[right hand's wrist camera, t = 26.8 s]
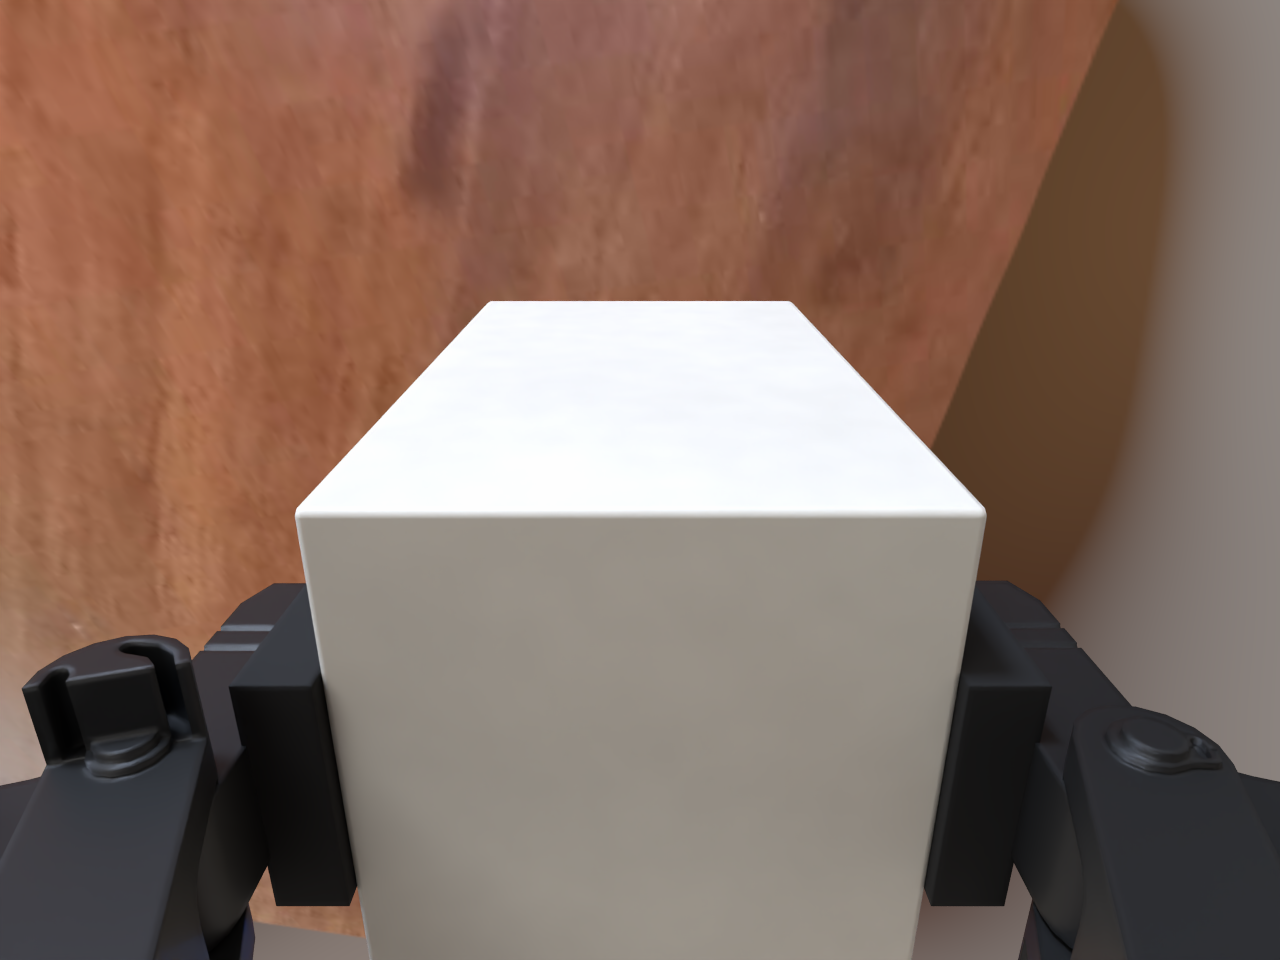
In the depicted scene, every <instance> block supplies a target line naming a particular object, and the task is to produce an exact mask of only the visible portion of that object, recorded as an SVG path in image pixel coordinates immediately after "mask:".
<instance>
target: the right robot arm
mask: <svg viewBox="0 0 1280 960" xmlns="http://www.w3.org/2000/svg"><path fill="white" fill-rule="evenodd" d="M22 691H23V694H24V697H25V700H26V703H27V706H28V710H29V713H30V716H31V719H32V722H33V725H34V728H35V731H36V734H37V737H38V740H39V743H40V746H41V749H42V752H43V755H44V758H45V761H46V764H47V766H46V768H45V770H44V772H43V774H42V776H41V777H38V778H34V779H30V780H26V781H21V782H16V783H11V784H6V785H2V786H0V960H253V951H254V943H255V934H254V927H253V920H252V916H251V911H250V907H249V903H248V902H249V900H250V899H251V897H252V895H253V893H254V891H255V889H256V887H257V885H258V883H259V881H260V879H261V877H262V875H263V873H264V871H265V869H266V867H267V865H268V870H269V874H270V879H271V884H272V888H273V893H274V897H275V902H276V906H350V903H351V901H352V898H353V895H354V893H355V890H356V887H357V881H356V875H355V869H354V863H353V857H352V851H351V846H350V840H349V834H348V828H347V822H346V816H345V810H344V804H343V798H342V792H341V786H340V780H339V774H338V768H337V763H336V757H335V751H334V745H333V739H332V733H331V727H330V721H329V715H328V709H327V703H326V697H325V691H324V686H323V680H322V674H321V668H320V662H319V656H318V650H317V644H316V638H315V632H314V626H313V620H312V614H311V608H310V603H309V597H308V591H307V585H306V583H274V584H272V585H270V586H269V587H267V588H266V589H264V590H262V591H261V592H259V593H257V594H256V595H254V596H252V597H251V598H249V599H247V600H246V601H244V602H242V603H241V604H240V605H239V606H238V608H237V609H236V610H235V611H234V612H233V613H232V614H231V616H230V617H229V618H228V619H227V620H226V621H225V623H224V624H223V625H222V626H221V631H217V632H216V633H215V634H214V635H213V637H212V638H211V639H210V640H209V641H208V642H207V643H206V645H205V646H204V651H200V652H199V653H198V654H197V655H196V656H195V657H194V659H193V660H191V656H190V652H189V648H188V647H186V646H185V645H184V644H182V643H181V642H180V641H178V640H177V639H174V638H169V637H164V636H158V635H140V636H125V637H121V638H116V639H112V640H107V641H103V642H99V643H94V644H92V645H89V646H87V647H84V648H82V649H79V650H77V651H74V652H72V653H69V654H66V655H64V656H62V657H61V658H59V659H57V660H56V661H54V662H52V663H51V664H49V665H47V666H46V667H44V668H43V669H41V670H39V671H38V672H37V673H36V674H35V675H34V676H33V677H32V678H31V679H30V680H29V681H28V682H27V683H26V685H25V686H24V687H23V688H22ZM1013 863H1014V864H1015V866H1016V868H1017V870H1018V872H1019V873H1020V875H1021V877H1022V879H1023V881H1024V883H1025V885H1026V887H1027V889H1028V891H1029V893H1030V895H1031V897H1032V903H1031V907H1030V911H1029V916H1028V920H1027V924H1026V928H1025V933H1024V937H1023V941H1022V945H1021V950H1020V954H1019V958H1018V960H1280V782H1278V781H1273V780H1268V779H1263V778H1258V777H1254V776H1250V775H1246V774H1242V773H1238V772H1237V770H1236V768H1235V766H1234V764H1233V763H1232V761H1231V760H1230V759H1229V758H1228V756H1227V755H1226V754H1225V753H1224V751H1223V750H1222V749H1221V748H1220V746H1219V745H1218V744H1216V743H1215V742H1214V741H1212V740H1211V739H1209V738H1208V737H1207V736H1205V735H1204V734H1202V733H1201V732H1200V731H1198V730H1197V729H1195V728H1194V727H1192V726H1189V725H1187V724H1185V723H1183V722H1181V721H1178V720H1176V719H1174V718H1172V717H1170V716H1168V715H1165V714H1161V713H1158V712H1154V711H1150V710H1146V709H1142V708H1139V707H1133V706H1131V705H1130V703H1129V702H1128V701H1127V700H1126V699H1125V698H1124V697H1123V695H1122V694H1121V693H1120V692H1119V691H1118V690H1117V688H1116V687H1115V686H1114V685H1113V684H1112V683H1111V682H1110V680H1109V679H1108V678H1107V677H1106V676H1105V675H1104V674H1103V672H1102V671H1101V670H1100V669H1099V668H1098V667H1097V665H1096V664H1095V663H1094V662H1093V661H1092V660H1091V659H1090V657H1089V656H1088V655H1087V654H1086V653H1085V652H1084V651H1083V649H1082V648H1077V642H1076V641H1075V640H1074V639H1073V638H1072V637H1071V636H1070V634H1069V633H1068V632H1067V631H1066V630H1065V629H1064V628H1060V623H1059V622H1058V621H1057V619H1056V618H1055V617H1054V616H1053V615H1052V614H1051V613H1050V611H1049V610H1048V609H1047V608H1046V607H1045V606H1044V605H1043V603H1042V602H1041V601H1040V600H1038V599H1037V598H1035V597H1033V596H1032V595H1030V594H1028V593H1027V592H1025V591H1023V590H1022V589H1020V588H1018V587H1017V586H1015V585H1013V584H1012V583H1010V582H1008V581H976V582H975V588H974V594H973V600H972V606H971V612H970V618H969V624H968V629H967V635H966V641H965V647H964V653H963V659H962V665H961V671H960V677H959V683H958V688H957V694H956V700H955V706H954V712H953V718H952V724H951V730H950V736H949V742H948V748H947V753H946V759H945V765H944V771H943V777H942V783H941V789H940V795H939V801H938V807H937V812H936V818H935V824H934V830H933V836H932V842H931V848H930V854H929V860H928V866H927V872H926V877H925V883H924V889H925V891H926V894H927V897H928V899H929V902H930V904H931V906H1004V904H1005V900H1006V895H1007V891H1008V886H1009V882H1010V877H1011V873H1012V868H1013Z"/></svg>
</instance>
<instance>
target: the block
mask: <svg viewBox="0 0 1280 960" xmlns="http://www.w3.org/2000/svg"><path fill="white" fill-rule="evenodd" d="M986 516H987V515H986V511H985V508H984V507H983V506H982V505H981V504H980V503H979V502H978V500H977V499H976V498H975V497H974V496H973V495H972V494H971V493H970V492H969V491H968V490H967V489H966V488H965V487H964V486H963V484H962V483H961V482H960V481H959V480H958V479H957V478H956V477H955V476H954V475H953V474H952V473H951V472H950V471H949V470H948V468H947V467H946V466H945V465H944V464H943V463H942V462H941V461H940V460H939V459H938V458H937V457H936V456H935V455H934V454H933V453H932V451H931V450H930V449H929V448H928V447H927V446H926V445H925V444H924V443H923V442H922V441H921V440H920V439H919V438H918V436H917V435H916V434H915V433H914V432H913V431H912V430H911V429H910V428H909V427H908V426H907V425H906V424H905V423H904V422H903V421H902V419H901V418H900V417H899V416H898V415H897V414H896V413H895V412H894V411H893V410H892V409H891V408H890V407H889V406H888V405H887V403H886V402H885V401H884V400H883V399H882V398H881V397H880V396H879V395H878V394H877V393H876V392H875V391H874V390H873V389H872V387H871V386H870V385H869V384H868V383H867V382H866V381H865V380H864V379H863V378H862V377H861V376H860V375H859V374H858V373H857V371H856V370H855V369H854V368H853V367H852V366H851V365H850V364H849V363H848V362H847V361H846V360H845V359H844V358H843V357H842V355H841V354H840V353H839V352H838V351H837V350H836V349H835V348H834V347H833V346H832V345H831V344H830V343H829V342H828V341H827V339H826V338H825V337H824V336H823V335H822V334H821V333H820V332H819V331H818V330H817V329H816V328H815V327H814V326H813V325H812V324H811V322H810V321H809V320H808V319H807V318H806V317H805V316H804V315H803V314H802V313H801V312H800V311H799V310H798V309H797V308H796V306H795V305H794V304H793V303H792V302H789V301H491V302H489V303H488V304H487V305H486V306H485V307H484V308H483V309H482V310H481V311H480V312H479V313H478V314H477V315H476V316H475V318H474V319H473V320H472V321H471V322H470V323H469V324H468V325H467V326H466V327H465V328H464V329H463V330H462V331H461V333H460V334H459V335H458V336H457V337H456V338H455V339H454V340H453V341H452V342H451V343H450V344H449V345H448V347H447V348H446V349H445V350H444V351H443V352H442V353H441V354H440V355H439V356H438V357H437V358H436V359H435V360H434V362H433V363H432V364H431V365H430V366H429V367H428V368H427V369H426V370H425V371H424V372H423V373H422V374H421V376H420V377H419V378H418V379H417V380H416V381H415V382H414V383H413V384H412V385H411V386H410V387H409V388H408V389H407V391H406V392H405V393H404V394H403V395H402V396H401V397H400V398H399V399H398V400H397V401H396V402H395V403H394V405H393V406H392V407H391V408H390V409H389V410H388V411H387V412H386V413H385V414H384V415H383V416H382V417H381V419H380V420H379V421H378V422H377V423H376V424H375V425H374V426H373V427H372V428H371V429H370V430H369V431H368V432H367V434H366V435H365V436H364V437H363V438H362V439H361V440H360V441H359V442H358V443H357V444H356V445H355V446H354V448H353V449H352V450H351V451H350V452H349V453H348V454H347V455H346V456H345V457H344V458H343V459H342V460H341V461H340V463H339V464H338V465H337V466H336V467H335V468H334V469H333V470H332V471H331V472H330V473H329V474H328V475H327V477H326V478H325V479H324V480H323V481H322V482H321V483H320V484H319V485H318V486H317V487H316V488H315V489H314V491H313V492H312V493H311V494H310V495H309V496H308V497H307V498H306V499H305V500H304V501H303V502H302V503H301V504H300V506H299V507H298V508H297V510H296V513H295V520H296V526H297V531H298V537H299V543H300V549H301V555H302V561H303V567H304V573H305V579H306V585H307V591H308V597H309V603H310V608H311V614H312V620H313V626H314V632H315V638H316V644H317V650H318V656H319V662H320V668H321V674H322V680H323V686H324V691H325V697H326V703H327V709H328V715H329V721H330V727H331V733H332V739H333V745H334V751H335V757H336V763H337V768H338V774H339V780H340V786H341V792H342V798H343V804H344V810H345V816H346V822H347V828H348V834H349V840H350V846H351V851H352V857H353V863H354V869H355V875H356V881H357V887H358V893H359V899H360V905H361V911H362V917H363V923H364V928H365V934H366V940H367V946H368V952H369V958H370V960H912V954H913V948H914V942H915V936H916V930H917V925H918V919H919V913H920V907H921V901H922V895H923V889H924V883H925V877H926V872H927V866H928V860H929V854H930V848H931V842H932V836H933V830H934V824H935V818H936V812H937V807H938V801H939V795H940V789H941V783H942V777H943V771H944V765H945V759H946V753H947V748H948V742H949V736H950V730H951V724H952V718H953V712H954V706H955V700H956V694H957V688H958V683H959V677H960V671H961V665H962V659H963V653H964V647H965V641H966V635H967V629H968V624H969V618H970V612H971V606H972V600H973V594H974V588H975V582H976V576H977V570H978V564H979V558H980V553H981V547H982V541H983V535H984V529H985V523H986Z"/></svg>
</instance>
